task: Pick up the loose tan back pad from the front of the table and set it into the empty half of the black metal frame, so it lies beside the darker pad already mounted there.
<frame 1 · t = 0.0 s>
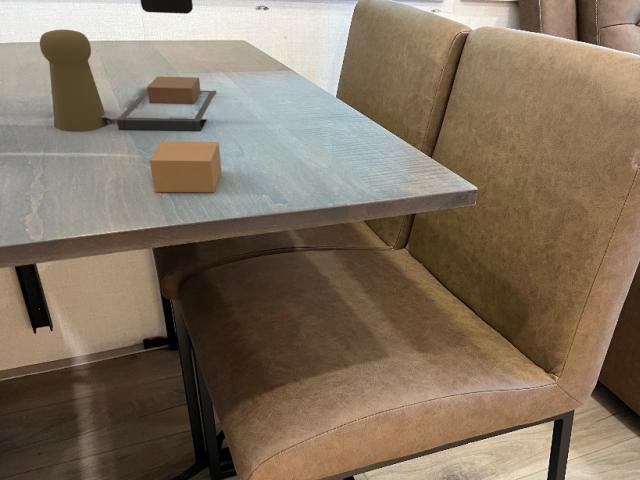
hand: (180, 3, 46), 18 cm above the table, tool pointing down, fingers open, 9 cm apart
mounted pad: (177, 106, 86), resting on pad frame
olive pawn: (82, 129, 78), on the table
loose pad: (189, 181, 64), on the table
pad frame: (172, 116, 84), on the table
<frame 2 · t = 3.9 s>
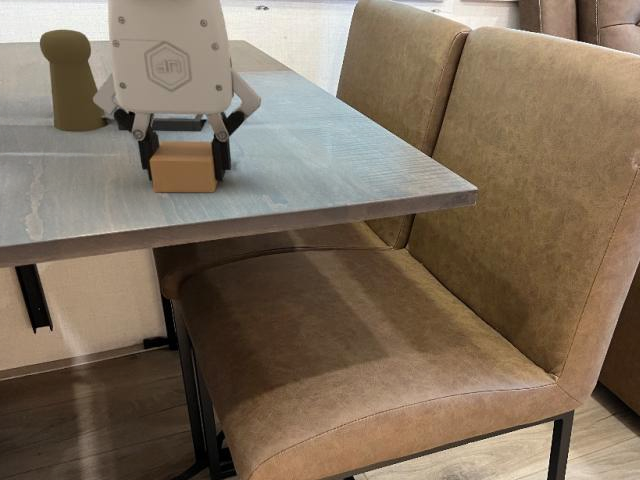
hand: (188, 174, 64), 1 cm above the table, tool pointing down, fingers closed on loose pad, 5 cm apart
loose pad: (189, 181, 64), on the table, touching gripper
everything else where it was.
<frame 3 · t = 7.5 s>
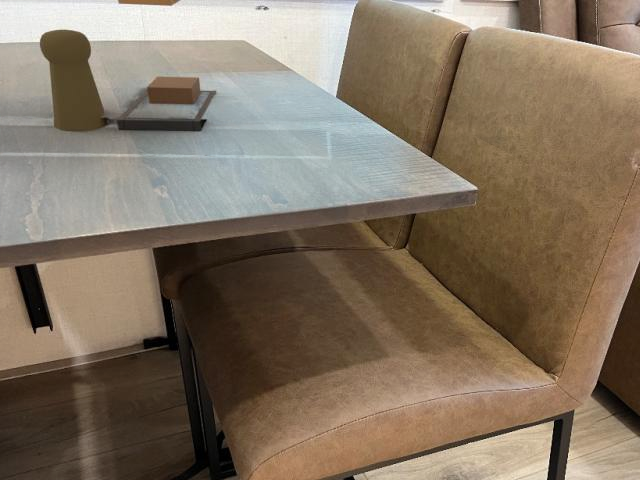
loose pad: (151, 1, 72), point 14 cm above the table, touching gripper
everything else where it was.
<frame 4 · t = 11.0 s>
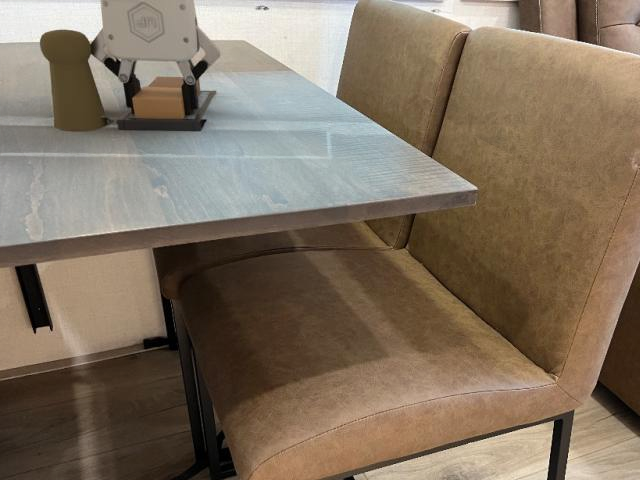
hand: (164, 112, 80), 1 cm above the table, tool pointing down, fingers closed on loose pad, 5 cm apart
loose pad: (164, 118, 80), point 1 cm above the table, touching gripper
everything else where it was.
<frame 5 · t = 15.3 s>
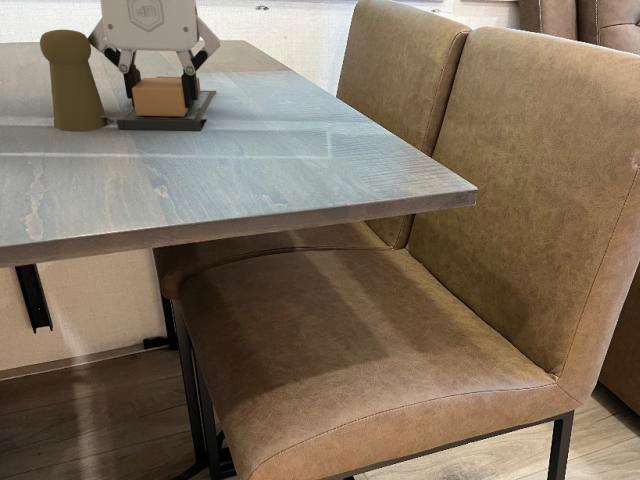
hand: (164, 103, 79), 3 cm above the table, tool pointing down, fingers closed on loose pad, 5 cm apart
loose pad: (164, 109, 80), point 2 cm above the table, touching gripper
everything else where it was.
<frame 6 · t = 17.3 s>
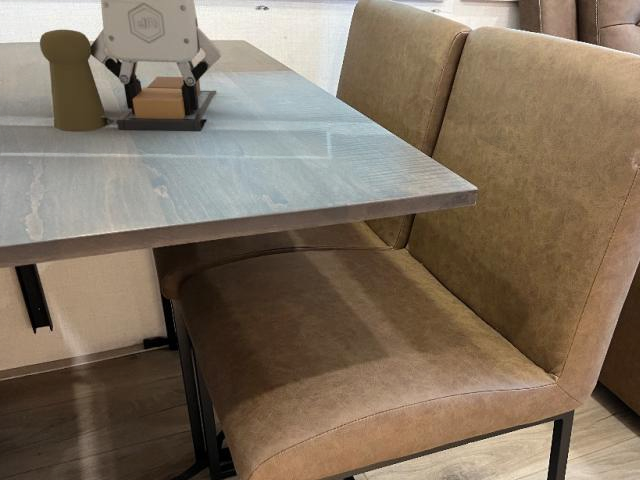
hand: (164, 113, 80), 1 cm above the table, tool pointing down, fingers closed on loose pad, 5 cm apart
loose pad: (165, 119, 80), point 1 cm above the table, touching gripper
everything else where it was.
when the fingers open (2 cm above the table, at t = 19.0 s): loose pad drops 1 cm, resting on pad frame.
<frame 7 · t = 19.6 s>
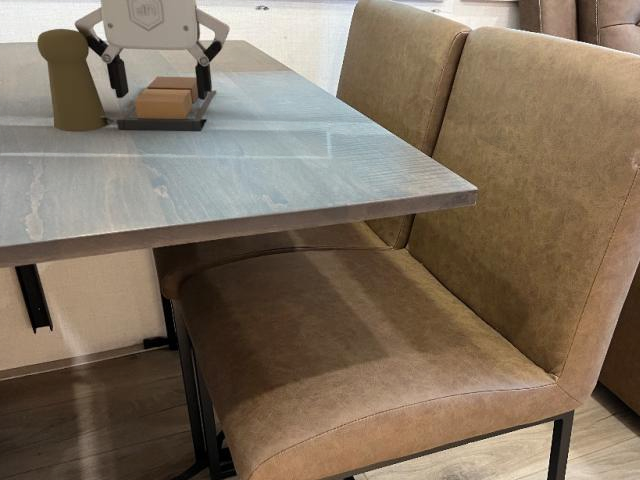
hand: (163, 96, 79), 3 cm above the table, tool pointing down, fingers open, 9 cm apart
olive pawn: (82, 128, 78), on the table, touching gripper
loose pad: (166, 120, 80), resting on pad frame
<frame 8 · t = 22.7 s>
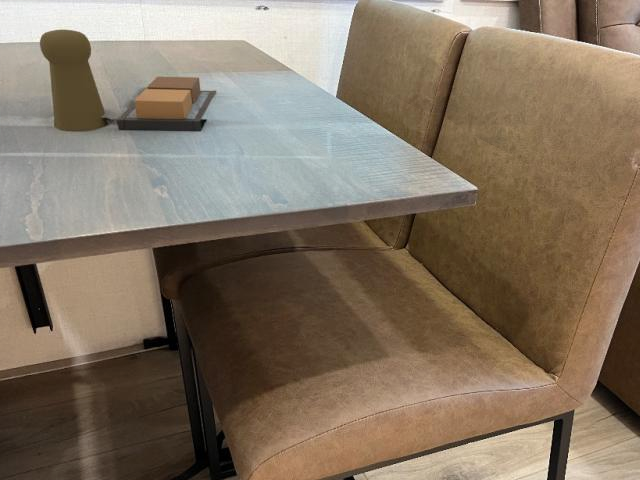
olive pawn: (82, 129, 78), on the table
everything else where it was.
at the end: loose pad 0.1 cm from the target spot in the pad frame, point 0.4 cm above the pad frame's base; loose pad 7.2 cm from the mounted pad (horizontally); loose pad tilted 0° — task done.
